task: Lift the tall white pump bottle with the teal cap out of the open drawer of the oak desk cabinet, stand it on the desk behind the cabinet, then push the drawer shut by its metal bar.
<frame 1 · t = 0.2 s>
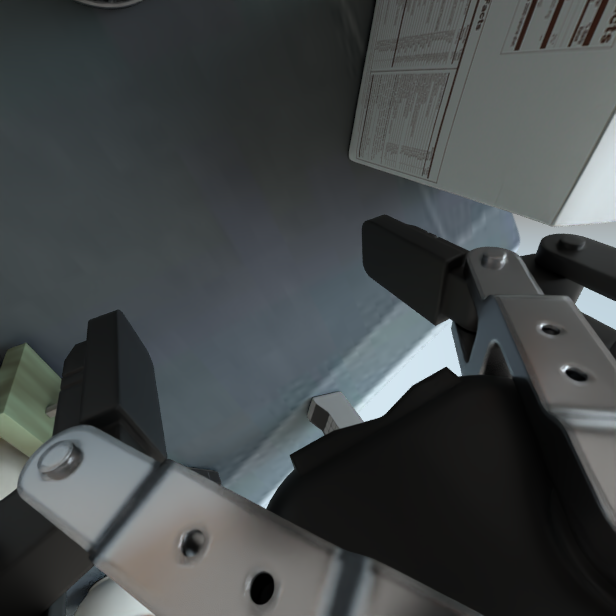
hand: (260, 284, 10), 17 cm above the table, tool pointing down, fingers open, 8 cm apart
supplement box: (435, 89, 29), on the table
vintage mobile phone: (322, 401, 47), on the table
drawer: (5, 456, 23), point 4 cm above the table, slide at 8.0 cm, touching lotion bottle
lotion bottle: (3, 435, 25), point 2 cm above the table, touching drawer
trinket box: (113, 581, 46), on the table
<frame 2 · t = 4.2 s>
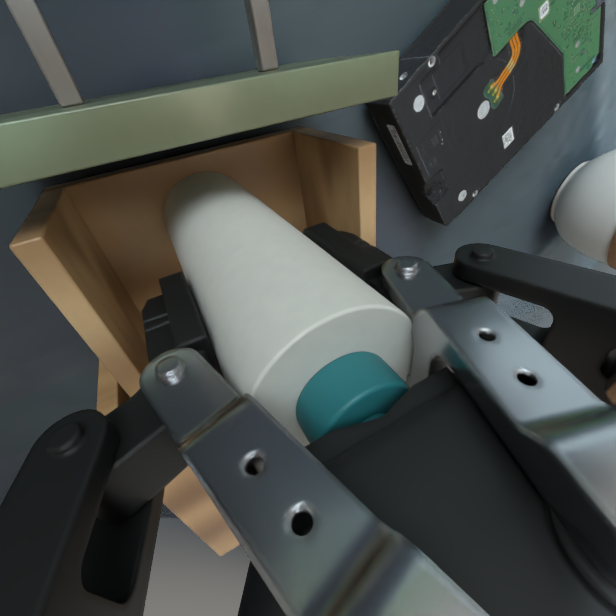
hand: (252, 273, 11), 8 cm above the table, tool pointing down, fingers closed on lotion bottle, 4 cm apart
disk drive: (471, 80, 21), on the table
cabinet: (252, 350, 24), on the table
drawer: (218, 219, 13), point 4 cm above the table, slide at 8.0 cm, touching lotion bottle
lotion bottle: (210, 217, 15), point 2 cm above the table, touching drawer, gripper
trinket box: (570, 192, 33), on the table
when the fingers open (6 cm above the table, at t = 11.6 s): lotion bottle stays where it is, on the table.
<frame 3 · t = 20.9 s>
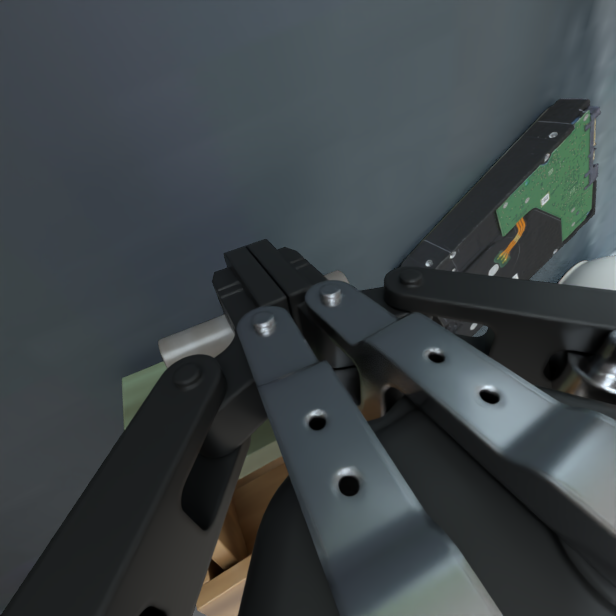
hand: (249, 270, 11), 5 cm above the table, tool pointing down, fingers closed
disk drive: (482, 232, 24), on the table
cabinet: (287, 451, 27), on the table
drawer: (288, 422, 17), point 4 cm above the table, slide at 6.6 cm, touching gripper
trinket box: (566, 284, 36), on the table
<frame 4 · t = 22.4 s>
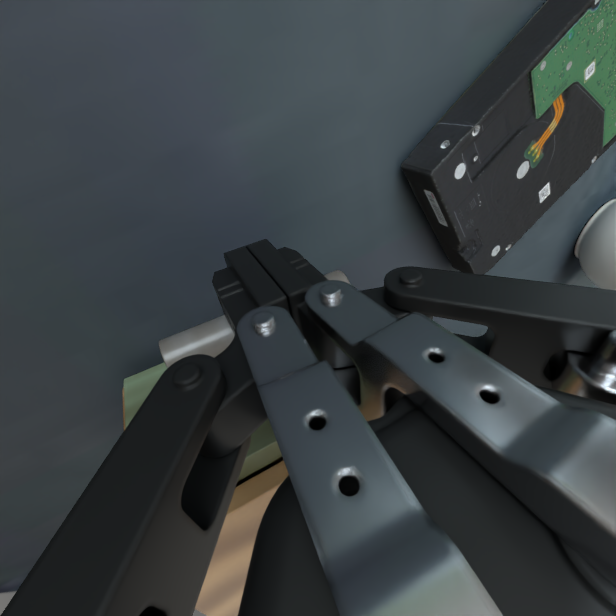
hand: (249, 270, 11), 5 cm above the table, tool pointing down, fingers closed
disk drive: (507, 133, 20), on the table
cabinet: (273, 406, 23), on the table
drawer: (289, 423, 17), point 4 cm above the table, slide at 0.0 cm, touching cabinet, gripper
trinket box: (594, 229, 32), on the table
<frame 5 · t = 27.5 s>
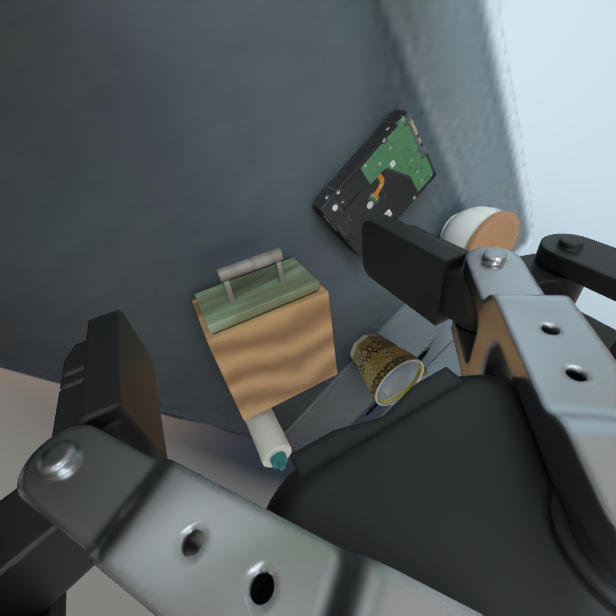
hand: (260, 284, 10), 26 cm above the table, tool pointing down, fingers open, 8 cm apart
ceramic cup: (370, 345, 60), on the table
disk drive: (369, 185, 42), on the table
cabinet: (259, 322, 45), on the table
drawer: (264, 318, 39), point 4 cm above the table, slide at 0.0 cm, touching cabinet
lotion bottle: (249, 393, 52), on the table
trinket box: (452, 230, 54), on the table
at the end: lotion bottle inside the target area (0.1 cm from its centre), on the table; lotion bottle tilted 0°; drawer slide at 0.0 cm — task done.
